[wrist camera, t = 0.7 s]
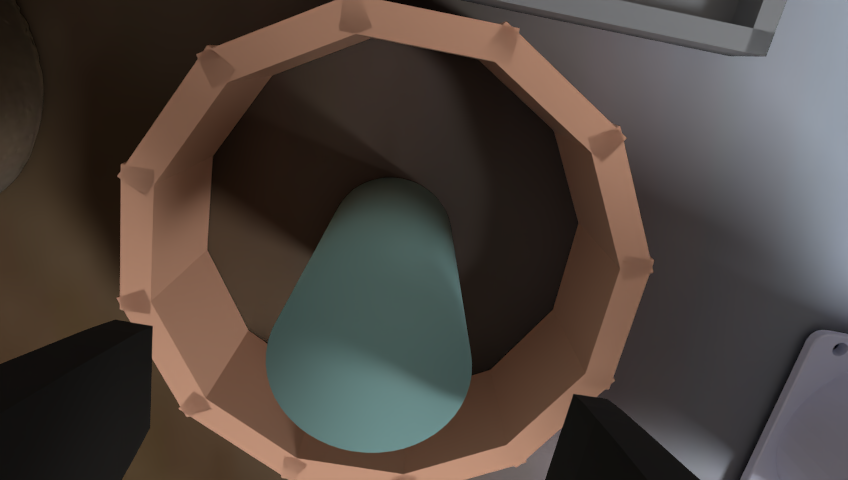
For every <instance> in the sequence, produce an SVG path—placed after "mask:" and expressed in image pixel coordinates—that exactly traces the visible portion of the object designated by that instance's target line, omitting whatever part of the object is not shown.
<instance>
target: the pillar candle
mask: <svg viewBox="0 0 848 480" xmlns="http://www.w3.org/2000/svg"><path fill="white" fill-rule="evenodd" d="M19 11H20V7H19V6H18V5H17V4H16V1H15V0H0V193H1V192H2V191H3V190H5V189H6V188H7V187H8V186H9V185H10V184H11V183H12V182H13V181H14V180H15V179H16V178H17V176H18V175H19V174H20V173H21V171H22V169H23V167H24V166H25V164H26V163H27V161H28V160H29V157H30V155H31V153H32V149H33V146H34V143H35V139H36V136H37V133H38V131H39V127H40V122H41V117H42V108H43V101H44V100H43V94H44V89H43V75H42V70H41V67H40V66H39V59H40V58H39V55H38V52H37V48H36V46H35V43H34V40H33V38H32V35H31V33H30V30H29V28H28V27H29V24H28V23H27V21H26V19H25V18H24V16H22V15H21V14H20V12H19Z"/></svg>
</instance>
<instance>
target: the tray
mask: <svg viewBox="0 0 848 480" xmlns="http://www.w3.org/2000/svg"><path fill="white" fill-rule="evenodd" d="M463 1H467V2H472V3H477V4H482V5H487V6H492V7H496V8H501V9H506V10H511V11H516V12H520V13H525V14H530V15H535V16H540V17H545V18H549V19H554V20H559V21H564V22H569V23H573V24H578V25H583V26H588V27H593V28H597V29H602V30H607V31H612V32H617V33H622V34H626V35H631V36H636V37H641V38H646V39H650V40H655V41H660V42H665V43H670V44H675V45H679V46H684V47H689V48H694V49H699V50H703V51H708V52H713V53H718V54H723V55H728V56H766V55H767V52H768V50H769V47H770V44H771V42H772V39H773V36H774V34H775V31H776V28H777V26H778V23H779V20H780V18H781V15H782V12H783V10H784V7H785V4H786V2H787V0H463Z"/></svg>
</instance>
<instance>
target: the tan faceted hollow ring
mask: <svg viewBox="0 0 848 480" xmlns="http://www.w3.org/2000/svg"><path fill="white" fill-rule="evenodd" d="M519 29H520V28H515V27H512V26H511V25H510V24H509V23H508V22H507V21H506V22H503V23H500V24H496V23H491V22H486V21H481V20H477V19H472V18H467V17H462V16H457V15H452V14H447V13H442V12H438V11H433V10H428V9H423V8H418V7H413V6H408V5H404V4H399V3H394V2H389V1H384V0H334V1H332V2H329V3H327V4H324V5H321V6H319V7H316V8H314V9H311V10H309V11H306V12H303V13H301V14H298V15H296V16H293V17H291V18H288V19H285V20H283V21H280V22H278V23H275V24H272V25H270V26H267V27H265V28H262V29H260V30H257V31H254V32H252V33H249V34H247V35H244V36H242V37H239V38H236V39H234V40H231V41H229V42H226V43H223V44H221V45H207V46H206V48H205V49H204V51H203V52H200V53H198V54H196V55H197V57H198V60H197V61H196V62H195V64H194V65H193V67H192V68H191V70H190V71H189V73H188V74H187V75H186V77H185V78H184V80H183V81H182V83H181V84H180V86H179V87H178V89H177V90H176V91H175V93H174V94H173V96H172V97H171V99H170V100H169V102H168V103H167V105H166V106H165V107H164V109H163V110H162V112H161V113H160V115H159V116H158V118H157V119H156V121H155V122H154V123H153V125H152V126H151V128H150V129H149V131H148V132H147V134H146V135H145V137H144V138H143V139H142V141H141V142H140V144H139V145H138V147H137V148H136V150H135V151H134V153H133V154H132V155H131V157H130V158H129V160H128V161H127V162H125V163H122V164H121V171H120V173H119V174H118V176H117V177H119V178H120V179H121V219H120V296H118V297H117V300H118V301H119V303H120V310H124V311H125V313H126V315H127V317H128V318H129V320H130V322H132V323H138V324H144V325H150V326H153V337H152V359H153V361H154V362H155V364H156V366H157V367H158V369H159V371H160V373H161V374H162V376H163V378H164V379H165V381H166V383H167V384H168V386H169V388H170V390H171V391H172V393H173V395H174V396H175V398H176V400H177V401H178V403H179V405H180V408H179V409H180V410H181V411H183V412H184V413H185V415H186V417H189V416H190V417H192V418H194V419H195V420H197V421H198V422H200V423H201V424H203V425H205V426H206V427H208V428H209V429H211V430H212V431H214V432H215V433H217V434H219V435H220V436H222V437H223V438H225V439H226V440H228V441H229V442H231V443H233V444H234V445H236V446H237V447H239V448H240V449H242V450H243V451H245V452H247V453H248V454H250V455H251V456H253V457H254V458H256V459H257V460H259V461H261V462H262V463H264V464H265V465H267V466H268V467H270V468H272V469H273V470H275V471H276V472H278V473H279V474H281V478H287V479H289V480H465V479H468V478H472V477H476V476H479V475H483V474H486V473H490V472H494V471H497V470H501V469H504V468H508V467H511V466H515V467H518V466H519V465H520V464H522V463H526V459H527V458H528V457H529V456H530V455H531V454H533V453H534V452H535V451H536V450H537V449H538V448H539V447H540V446H542V445H543V444H544V443H545V442H546V441H547V440H548V439H550V438H551V437H552V436H553V435H554V434H555V433H556V432H557V431H559V430H560V429H561V428H562V427H563V424H564V421H565V418H566V415H567V412H568V409H569V406H570V403H571V400H572V397H573V394H578V395H585V396H591V397H597V396H598V395H599V394H600V393H602V392H603V391H604V390H605V389H607V390H609V388H610V385H611V384H612V383H613V382H614V381H615V379H614V374H615V371H616V368H617V365H618V362H619V359H620V357H621V354H622V351H623V348H624V345H625V342H626V340H627V337H628V334H629V331H630V328H631V325H632V323H633V320H634V317H635V314H636V311H637V308H638V306H639V303H640V300H641V297H642V294H643V291H644V288H645V286H646V283H647V280H648V277H649V274H650V273H654V272H653V268H652V266H653V263H654V259H652V258H651V257H650V255H649V250H648V246H647V241H646V237H645V233H644V228H643V224H642V219H641V215H640V211H639V206H638V202H637V197H636V193H635V189H634V184H633V180H632V176H631V171H630V167H629V162H628V158H627V154H626V149H625V145H624V141H625V140H626V139H627V138H626V137H625V136H624V135H623V134H622V132H621V127H620V126H618V125H616V124H613V123H611V122H610V121H609V120H608V119H607V118H606V117H605V116H604V115H602V114H601V113H600V112H599V111H598V110H597V109H596V108H595V107H594V106H593V105H592V104H591V103H590V102H589V101H588V100H587V99H586V98H585V97H584V96H583V95H582V94H581V93H580V92H579V91H578V90H577V89H576V88H575V87H574V86H573V85H572V84H571V83H569V82H568V81H567V80H566V79H565V78H564V77H563V76H562V75H561V74H560V73H559V72H558V71H557V70H556V69H555V68H554V67H553V66H552V65H551V64H550V63H549V62H548V61H547V60H546V59H545V58H544V57H543V56H542V55H541V54H540V53H539V52H537V51H536V50H535V49H534V48H533V47H532V46H531V45H530V44H529V43H528V42H527V41H526V40H525V39H524V38H523V37H522V36H521V35H520V34H519ZM371 38H374V39H379V40H384V41H389V42H393V43H398V44H403V45H408V46H413V47H418V48H423V49H428V50H433V51H438V52H443V53H448V54H453V55H458V56H463V57H468V58H473V59H478V60H479V61H480V62H481V63H482V64H483V65H484V66H485V67H486V68H488V69H489V70H490V71H491V72H492V73H493V74H494V75H495V76H496V77H497V78H498V79H499V80H500V81H501V82H503V83H504V84H505V85H506V86H507V87H508V88H509V89H510V90H511V91H512V92H513V93H514V94H515V95H516V96H518V97H519V98H520V99H521V100H522V101H523V102H524V103H525V104H526V105H527V106H528V107H529V108H530V109H531V110H533V111H534V112H535V113H536V114H537V115H538V116H539V117H540V118H541V119H542V120H543V121H544V122H545V123H546V124H548V125H549V126H550V127H551V128H552V129H553V130H554V133H555V137H556V141H557V145H558V148H559V152H560V156H561V159H562V163H563V167H564V171H565V174H566V178H567V182H568V186H569V189H570V193H571V197H572V200H573V204H574V208H575V212H576V215H577V219H578V227H577V230H576V233H575V237H574V240H573V244H572V247H571V250H570V254H569V257H568V260H567V264H566V267H565V271H564V274H563V277H562V281H561V284H560V287H559V291H558V294H557V298H556V301H555V304H554V308H553V310H552V311H551V312H550V313H549V314H548V315H547V316H546V317H545V318H544V319H543V320H542V321H540V322H539V323H538V324H537V325H536V326H535V327H534V328H533V329H532V330H531V331H530V332H529V333H528V334H527V335H526V336H525V337H524V338H523V339H522V340H521V341H520V342H519V343H518V344H517V345H516V346H515V347H514V348H512V349H511V350H510V351H509V352H508V353H507V354H506V355H505V356H504V357H503V358H502V359H501V360H500V361H499V362H498V363H497V364H496V365H495V366H494V367H493V368H492V369H491V370H488V371H485V372H482V373H478V374H475V375H472V376H471V381H470V386H469V389H468V392H467V395H466V397H465V399H464V401H463V403H462V405H461V407H460V408H459V410H458V411H457V413H456V414H455V416H454V417H453V418H452V419H451V420H450V421H449V422H448V423H447V424H446V425H445V426H444V427H443V428H442V429H441V430H439V431H438V432H437V433H435V434H434V435H432V436H431V437H429V438H428V439H426V440H424V441H422V442H420V443H418V444H415V445H413V446H410V447H407V448H404V449H399V450H395V451H390V452H381V453H364V452H354V451H349V450H344V449H340V448H337V447H334V446H331V445H328V444H326V443H324V442H322V441H319V440H317V439H316V438H314V437H312V436H311V435H309V434H307V433H306V432H305V431H303V430H302V429H301V428H299V427H298V426H297V425H296V424H295V423H294V422H293V421H292V420H291V419H290V418H289V417H288V416H287V415H286V414H285V412H284V411H283V410H282V409H281V407H280V405H279V404H278V402H277V401H276V399H275V397H274V395H273V392H272V390H271V388H270V385H269V381H268V377H267V371H266V350H267V343H266V342H264V341H263V340H262V339H260V338H259V337H257V336H256V335H254V334H253V333H252V332H250V331H249V330H248V329H247V327H246V325H245V323H244V321H243V319H242V317H241V315H240V313H239V311H238V309H237V307H236V305H235V303H234V301H233V299H232V297H231V296H230V294H229V292H228V290H227V288H226V286H225V284H224V282H223V280H222V278H221V276H220V274H219V272H218V270H217V268H216V266H215V264H214V262H213V260H212V258H211V256H210V255H209V253H208V251H207V243H208V227H209V211H210V195H211V179H212V163H213V155H214V154H215V152H216V151H217V150H218V148H219V147H220V146H221V144H222V143H223V142H224V140H225V139H226V138H227V136H228V135H229V133H230V132H231V131H232V129H233V128H234V127H235V125H236V124H237V123H238V121H239V120H240V119H241V117H242V116H243V114H244V113H245V112H246V110H247V109H248V108H249V106H250V105H251V104H252V102H253V101H254V100H255V98H256V97H257V96H258V94H259V93H260V91H261V90H262V89H263V87H264V86H265V85H266V83H267V82H268V81H269V79H270V78H271V77H272V75H275V74H278V73H280V72H283V71H286V70H288V69H291V68H294V67H296V66H299V65H302V64H304V63H307V62H310V61H312V60H315V59H318V58H320V57H323V56H325V55H328V54H331V53H333V52H336V51H339V50H341V49H344V48H347V47H349V46H352V45H355V44H357V43H360V42H363V41H365V40H368V39H371Z"/></svg>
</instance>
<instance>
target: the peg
mask: <svg viewBox="0 0 848 480" xmlns="http://www.w3.org/2000/svg"><path fill="white" fill-rule="evenodd" d="M266 371H267V377H268V381H269V385H270V388H271V390H272V392H273V395H274V397H275V399H276V401H277V402H278V404H279V405H280V407H281V409H282V410H283V411H284V412H285V414H286V415H287V416H288V417H289V418H290V419H291V420H292V421H293V422H294V423H295V424H296V425H297V426H298V427H299V428H301V429H302V430H303V431H305V432H306V433H307V434H309V435H311V436H312V437H314V438H316V439H317V440H319V441H322V442H324V443H326V444H328V445H331V446H334V447H337V448H340V449H344V450H349V451H354V452H364V453H381V452H390V451H395V450H399V449H404V448H407V447H410V446H413V445H415V444H418V443H420V442H422V441H424V440H426V439H428V438H429V437H431V436H432V435H434V434H435V433H437V432H438V431H439V430H441V429H442V428H443V427H444V426H445V425H446V424H447V423H448V422H449V421H450V420H451V419H452V418H453V417H454V416H455V414H456V413H457V411H458V410H459V408H460V407H461V405H462V403H463V401H464V399H465V397H466V395H467V392H468V389H469V386H470V381H471V375H472V358H471V350H470V344H469V338H468V332H467V325H466V319H465V313H464V307H463V300H462V294H461V288H460V282H459V275H458V269H457V263H456V257H455V250H454V244H453V238H452V232H451V225H450V221H449V218H448V215H447V213H446V211H445V209H444V207H443V205H442V204H441V203H440V201H439V200H438V199H437V197H435V196H434V195H433V194H432V193H431V192H430V191H429V190H427V189H426V188H425V187H423V186H421V185H419V184H418V183H415V182H413V181H410V180H406V179H402V178H394V177H387V178H379V179H374V180H371V181H368V182H366V183H363V184H361V185H360V186H358V187H356V188H355V189H354V190H352V191H351V192H350V193H349V194H348V195H347V196H346V197H345V198H344V199H343V201H342V202H341V203H340V205H339V207H338V208H337V210H336V212H335V214H334V216H333V218H332V219H331V221H330V223H329V225H328V227H327V229H326V231H325V232H324V234H323V236H322V238H321V240H320V242H319V243H318V245H317V247H316V249H315V251H314V253H313V255H312V256H311V258H310V260H309V262H308V264H307V266H306V267H305V269H304V271H303V273H302V275H301V277H300V279H299V280H298V282H297V284H296V286H295V288H294V290H293V291H292V293H291V295H290V297H289V299H288V301H287V303H286V304H285V306H284V308H283V310H282V312H281V314H280V315H279V317H278V319H277V321H276V323H275V325H274V327H273V329H272V331H271V334H270V337H269V340H268V344H267V350H266Z"/></svg>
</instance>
